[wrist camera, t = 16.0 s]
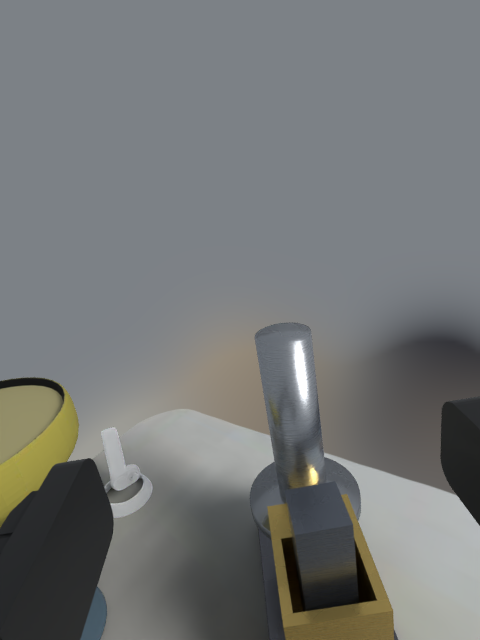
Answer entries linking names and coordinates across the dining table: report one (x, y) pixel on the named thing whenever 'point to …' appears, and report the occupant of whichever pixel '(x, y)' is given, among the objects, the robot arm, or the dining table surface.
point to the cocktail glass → (38, 453)
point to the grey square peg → (322, 546)
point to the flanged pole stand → (299, 471)
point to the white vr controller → (123, 475)
